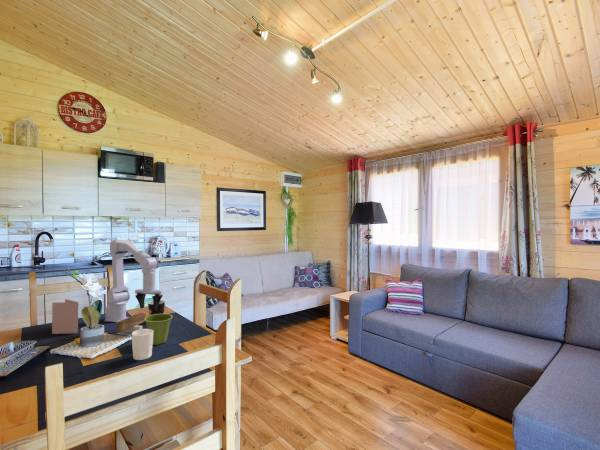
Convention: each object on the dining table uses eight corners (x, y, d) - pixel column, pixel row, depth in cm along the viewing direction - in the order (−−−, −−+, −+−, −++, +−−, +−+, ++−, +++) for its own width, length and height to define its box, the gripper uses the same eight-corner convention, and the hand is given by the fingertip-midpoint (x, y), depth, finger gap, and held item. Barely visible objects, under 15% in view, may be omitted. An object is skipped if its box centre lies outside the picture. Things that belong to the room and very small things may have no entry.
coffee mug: (147, 319, 178) (148, 301, 177) (164, 317, 181) (164, 299, 181) (147, 325, 167) (147, 306, 167) (165, 323, 171) (165, 304, 171)
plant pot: (145, 349, 137) (146, 323, 137) (142, 340, 147) (142, 315, 147) (174, 343, 143) (175, 318, 143) (169, 335, 153) (169, 312, 153)
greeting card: (79, 332, 155) (80, 301, 155) (62, 337, 148) (63, 305, 148) (66, 328, 160) (67, 298, 160) (49, 333, 154) (50, 302, 153)
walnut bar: (116, 330, 149) (116, 322, 149) (139, 320, 165) (139, 312, 165) (123, 331, 148) (123, 323, 148) (145, 321, 164) (145, 313, 164)
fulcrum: (115, 334, 153) (115, 327, 153) (129, 328, 162) (129, 322, 162) (134, 336, 151) (134, 329, 151) (146, 330, 160) (146, 323, 160)
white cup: (147, 351, 135) (147, 327, 135) (156, 356, 130) (157, 331, 130) (128, 357, 129) (128, 332, 129) (136, 362, 124) (137, 337, 124)
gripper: (130, 282, 159) (130, 309, 159) (157, 284, 156) (156, 311, 156) (140, 279, 166) (140, 306, 166) (165, 281, 163) (165, 307, 163)
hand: (148, 308), depth 161 cm, fingers open, 7 cm apart
